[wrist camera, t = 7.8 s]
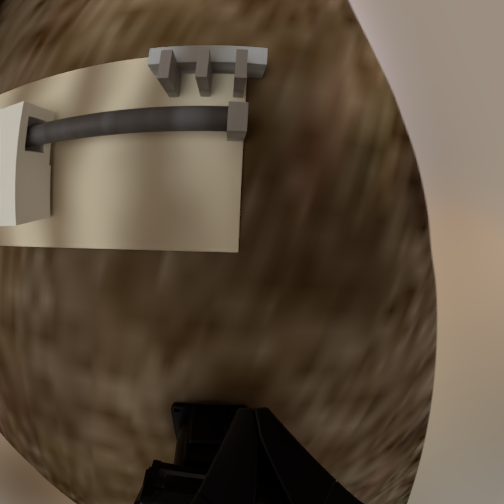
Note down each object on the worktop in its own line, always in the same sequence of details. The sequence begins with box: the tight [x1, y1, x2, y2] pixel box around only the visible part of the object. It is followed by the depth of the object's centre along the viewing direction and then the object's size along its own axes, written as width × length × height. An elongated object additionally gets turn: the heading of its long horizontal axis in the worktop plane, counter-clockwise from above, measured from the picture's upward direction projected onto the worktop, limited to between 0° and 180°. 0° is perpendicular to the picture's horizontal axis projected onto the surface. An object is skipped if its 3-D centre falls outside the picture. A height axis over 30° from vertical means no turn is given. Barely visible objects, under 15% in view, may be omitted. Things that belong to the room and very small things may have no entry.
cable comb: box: [0, 45, 268, 252], centre depth 14 cm, size 25×13×4 cm, turn 87°
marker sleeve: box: [0, 101, 55, 226], centre depth 13 cm, size 4×7×4 cm, turn 177°
